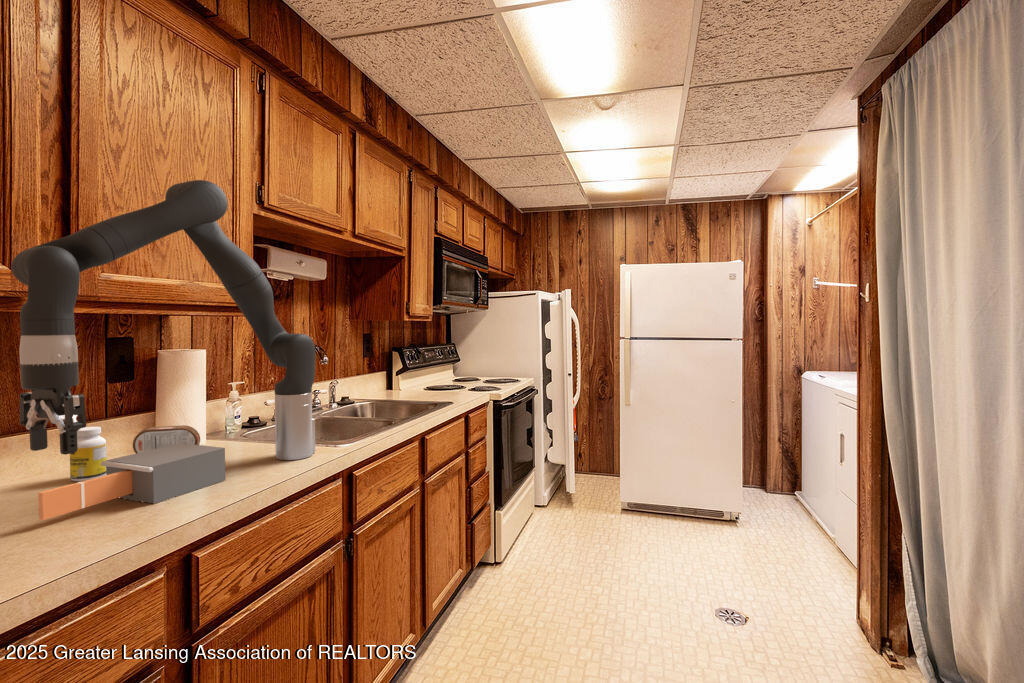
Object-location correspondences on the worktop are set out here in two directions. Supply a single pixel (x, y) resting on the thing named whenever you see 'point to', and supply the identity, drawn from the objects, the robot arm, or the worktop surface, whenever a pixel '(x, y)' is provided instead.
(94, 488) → the ticket
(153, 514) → the worktop surface
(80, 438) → the pill bottle
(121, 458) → the dispenser
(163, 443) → the tin
